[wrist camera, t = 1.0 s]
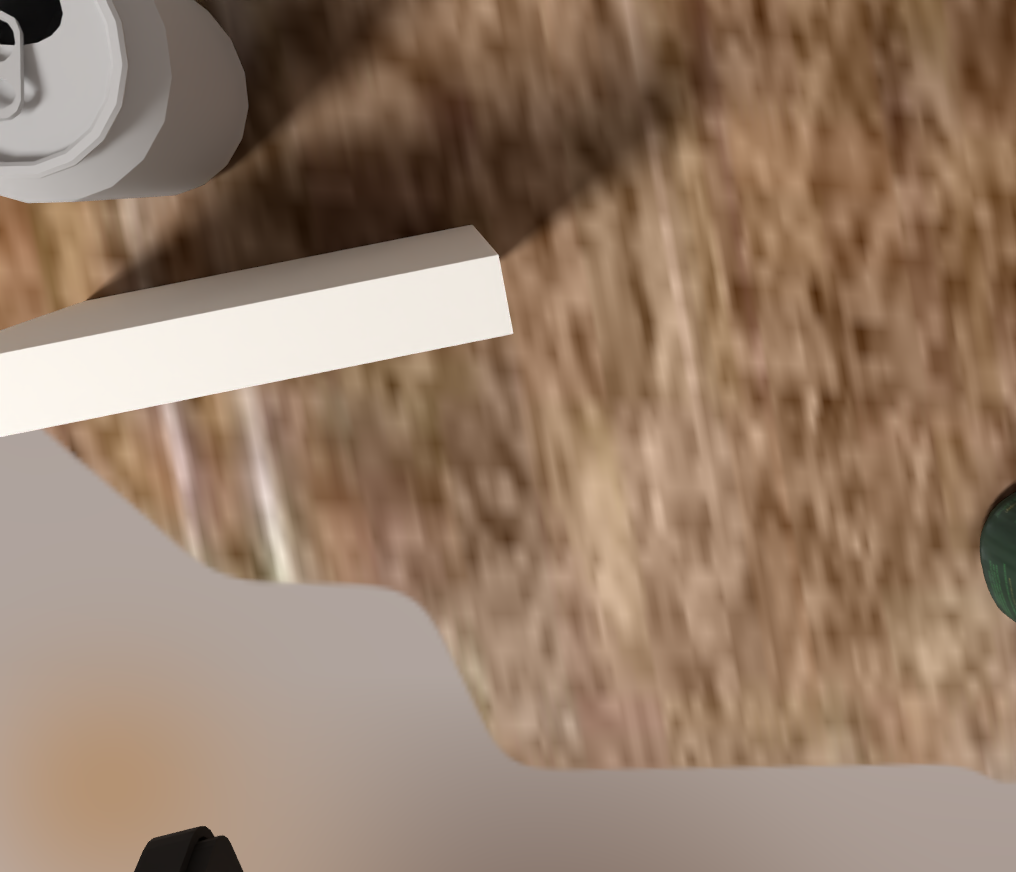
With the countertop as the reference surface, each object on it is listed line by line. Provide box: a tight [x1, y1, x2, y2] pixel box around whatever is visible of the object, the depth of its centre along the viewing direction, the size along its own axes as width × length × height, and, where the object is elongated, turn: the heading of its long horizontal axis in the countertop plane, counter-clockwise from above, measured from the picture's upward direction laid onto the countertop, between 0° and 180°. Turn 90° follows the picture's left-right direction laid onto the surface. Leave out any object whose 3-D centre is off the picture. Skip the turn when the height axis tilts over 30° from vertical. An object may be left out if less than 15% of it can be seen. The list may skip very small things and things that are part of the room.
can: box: [0, 0, 249, 203], centre depth 25 cm, size 8×8×12 cm
